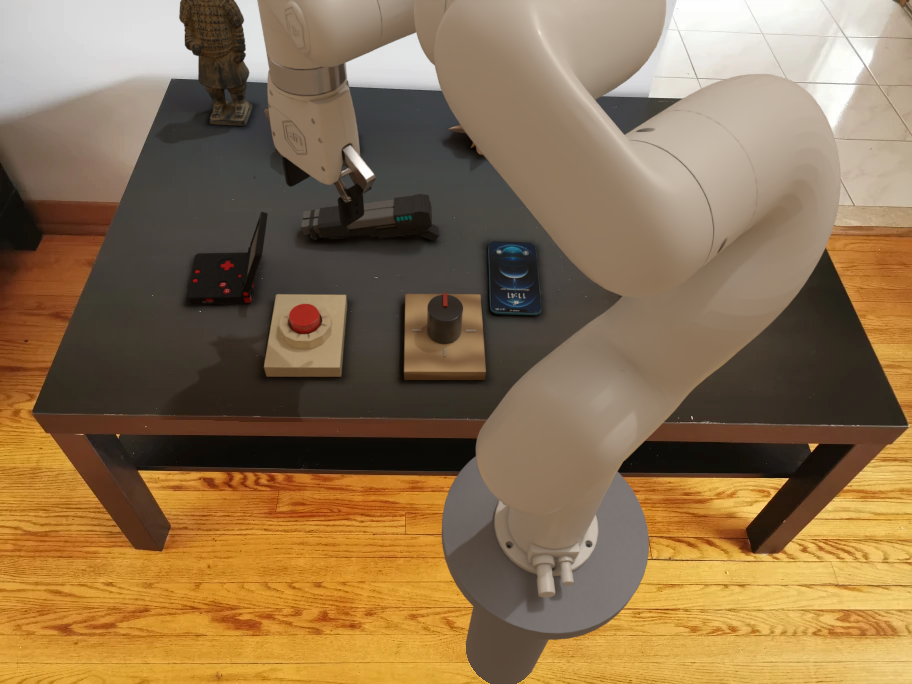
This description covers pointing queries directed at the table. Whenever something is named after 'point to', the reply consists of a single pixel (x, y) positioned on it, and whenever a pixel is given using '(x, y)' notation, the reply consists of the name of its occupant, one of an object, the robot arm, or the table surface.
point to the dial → (444, 318)
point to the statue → (219, 55)
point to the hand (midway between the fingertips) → (325, 200)
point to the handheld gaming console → (227, 273)
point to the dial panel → (443, 359)
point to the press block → (307, 338)
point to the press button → (304, 318)
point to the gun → (375, 220)
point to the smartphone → (513, 278)
